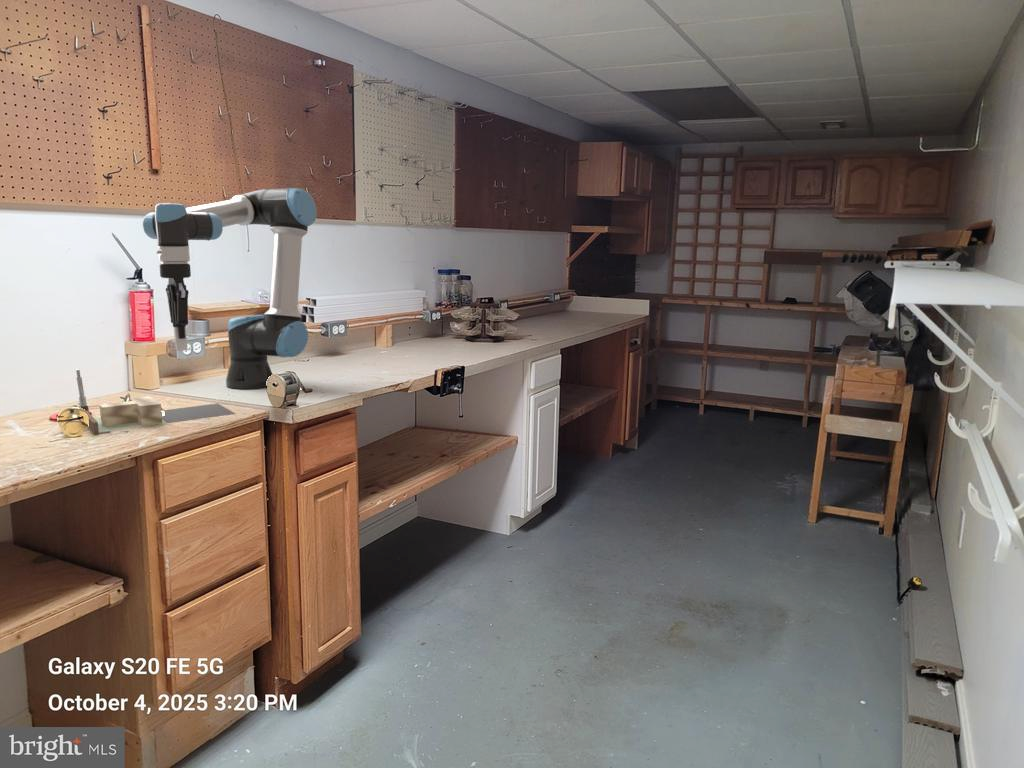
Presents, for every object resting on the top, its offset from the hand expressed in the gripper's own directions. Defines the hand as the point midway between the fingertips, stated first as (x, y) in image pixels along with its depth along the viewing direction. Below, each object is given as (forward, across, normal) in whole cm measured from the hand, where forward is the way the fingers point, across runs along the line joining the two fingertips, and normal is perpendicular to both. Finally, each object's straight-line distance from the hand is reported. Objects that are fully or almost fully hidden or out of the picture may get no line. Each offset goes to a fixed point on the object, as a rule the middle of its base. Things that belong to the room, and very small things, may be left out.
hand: (181, 350), depth 203 cm
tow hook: (+19, -16, -26) cm, 36 cm away
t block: (+18, +1, -14) cm, 23 cm away
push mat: (+18, 0, -7) cm, 19 cm away
